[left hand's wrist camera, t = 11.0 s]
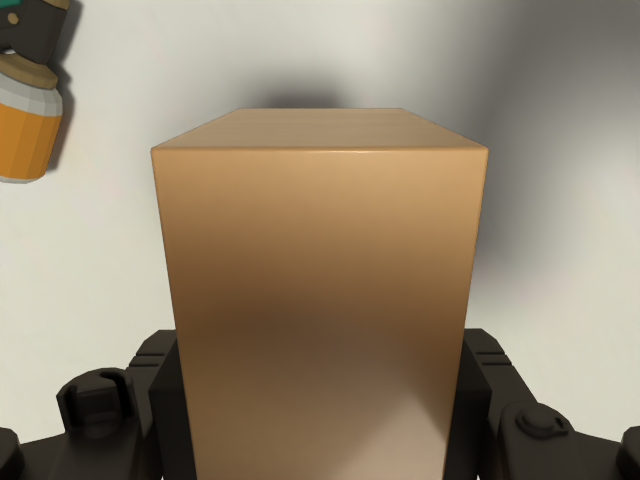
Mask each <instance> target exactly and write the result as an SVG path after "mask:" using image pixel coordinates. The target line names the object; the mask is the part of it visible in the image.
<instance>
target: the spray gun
mask: <svg viewBox="0 0 640 480" xmlns="http://www.w3.org/2000/svg"><path fill="white" fill-rule="evenodd" d="M69 4H70V0H0V50H1V49H6V48H11V47H12V48H13V50H14V51H15V52H16V53H12V54H0V182H4V183H14V184H27V183H30V182H33V181H36V180H38V179H39V178H41V177H43V176H44V175H45V172H46V168H47V165H48V162H49V158H50V155H51V152H52V148H53V145H54V142H55V138H56V135H57V131H58V128H59V125H60V121H61V118H62V97H61V96H60V94H59V93H58V91H57V90H56V85H57V82H58V78H57V76H56V75H55V74H54V73H53V72H52V71H51V70H49V68H48V67H47V66H46V64H47V62H48V61H49V60H50V58H51V56H52V53H53V50H54V47H55V45H56V42H57V39H58V36H59V34H60V31H61V28H62V25H63V23H64V20H65V17H66V14H67V11H66V9H68V8H69Z"/></svg>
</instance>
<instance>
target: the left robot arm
mask: <svg viewBox="0 0 640 480" xmlns="http://www.w3.org/2000/svg"><path fill="white" fill-rule="evenodd" d="M56 398H57V402H58V406H59V409H60V413H61V417H62V420H63V424H64V428H65V433H63V434H60V435H57V436H53V437H49V438H45V439H41V440H36V441H32V442H28V443H24V444H20V442H19V439H18V436H17V434H16V433H15V432H13V431H12V430H11V429H8V428H1V427H0V480H161V479H162V476H163V480H197V475H196V468H195V461H194V454H193V447H192V440H191V433H190V426H189V419H188V412H187V405H186V398H185V391H184V384H183V377H182V370H181V362H180V355H179V348H178V341H177V334H176V330H158V331H157V332H156V333H154V334H153V335H151V336H150V337H149V338H147V339H146V340H145V341H144V342H143V344H142V345H141V347H140V348H139V350H138V351H137V353H136V356H134V357H133V359H132V360H131V362H130V363H129V367H127V368H126V369H125V370H123V369H119V368H100V369H96V370H92V371H88V372H86V373H84V374H82V375H80V376H77V377H75V378H73V379H72V380H71V381H69V382H68V383H67V384H65V385H64V386H63V387H62V388H61V390H60V391H59V392H58V394H57V395H56ZM477 476H479V478H480V480H640V426H635V427H630V428H629V429H628V430H627V431H625V432H624V434H623V437H622V440H621V443H620V442H616V441H611V440H607V439H603V438H599V437H594V436H590V435H586V434H583V433H580V432H577V431H575V430H574V428H573V427H572V425H571V424H570V422H569V421H568V420H567V419H566V418H565V417H564V416H563V415H561V414H560V413H559V412H558V411H556V410H554V409H552V408H550V407H549V406H547V405H545V404H541V403H538V402H537V400H536V399H535V397H534V396H533V394H532V393H531V391H530V390H529V388H528V387H527V385H526V384H525V382H524V381H523V379H522V378H521V376H520V375H519V373H518V372H517V370H516V369H515V367H514V366H512V363H511V361H510V360H509V358H508V356H507V355H505V352H504V350H503V349H502V347H501V346H500V344H499V343H498V341H497V340H496V339H495V338H494V337H492V336H491V335H490V334H488V333H487V332H485V331H484V330H483V329H464V334H463V341H462V348H461V355H460V363H459V370H458V377H457V384H456V391H455V399H454V406H453V413H452V420H451V427H450V435H449V442H448V449H447V456H446V463H445V470H444V478H443V480H477Z"/></svg>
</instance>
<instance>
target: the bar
mask: <svg viewBox="0 0 640 480" xmlns="http://www.w3.org/2000/svg"><path fill="white" fill-rule="evenodd" d="M488 154H489V150H488V147H485V146H483V145H481V144H479V143H477V142H474V141H472V140H470V139H468V138H466V137H463V136H461V135H459V134H457V133H455V132H452V131H450V130H448V129H446V128H444V127H441V126H439V125H437V124H435V123H432V122H430V121H428V120H426V119H424V118H421V117H419V116H417V115H415V114H413V113H410V112H408V111H406V110H404V109H402V108H269V109H237V110H234V111H232V112H230V113H228V114H226V115H223V116H221V117H219V118H217V119H215V120H212V121H210V122H208V123H206V124H204V125H201V126H199V127H197V128H195V129H192V130H190V131H188V132H186V133H184V134H181V135H179V136H177V137H175V138H173V139H170V140H168V141H166V142H164V143H161V144H159V145H157V146H155V147H153V148H151V159H152V166H153V173H154V180H155V187H156V194H157V201H158V208H159V215H160V222H161V229H162V236H163V243H164V250H165V257H166V264H167V271H168V278H169V285H170V292H171V299H172V306H173V313H174V320H175V327H176V334H177V341H178V348H179V355H180V362H181V370H182V377H183V384H184V391H185V398H186V405H187V412H188V419H189V426H190V433H191V440H192V447H193V454H194V461H195V468H196V475H197V480H443V478H444V470H445V463H446V456H447V449H448V442H449V435H450V427H451V420H452V413H453V406H454V399H455V391H456V384H457V377H458V370H459V363H460V355H461V348H462V341H463V334H464V327H465V319H466V312H467V305H468V298H469V291H470V284H471V276H472V269H473V262H474V255H475V248H476V240H477V233H478V226H479V219H480V212H481V204H482V197H483V190H484V183H485V176H486V168H487V161H488Z"/></svg>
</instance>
